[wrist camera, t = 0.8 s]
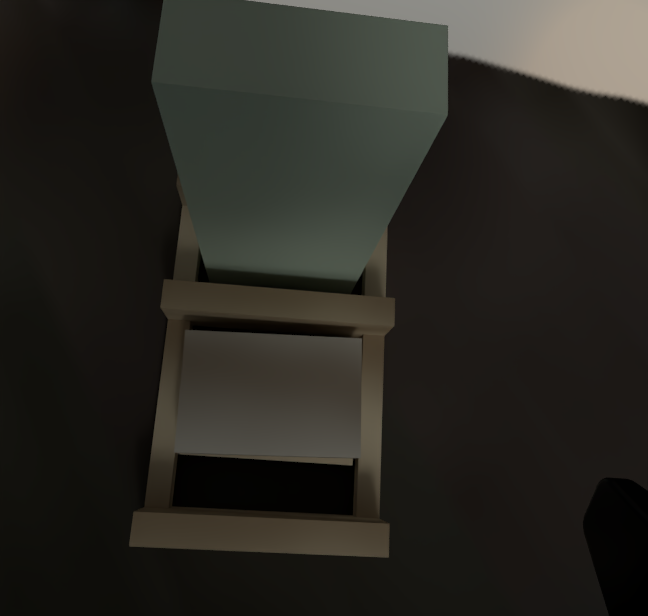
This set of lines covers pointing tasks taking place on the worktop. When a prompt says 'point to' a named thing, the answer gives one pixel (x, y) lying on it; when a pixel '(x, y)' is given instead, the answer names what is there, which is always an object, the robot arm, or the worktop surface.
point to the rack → (275, 316)
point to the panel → (295, 133)
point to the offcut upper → (270, 395)
